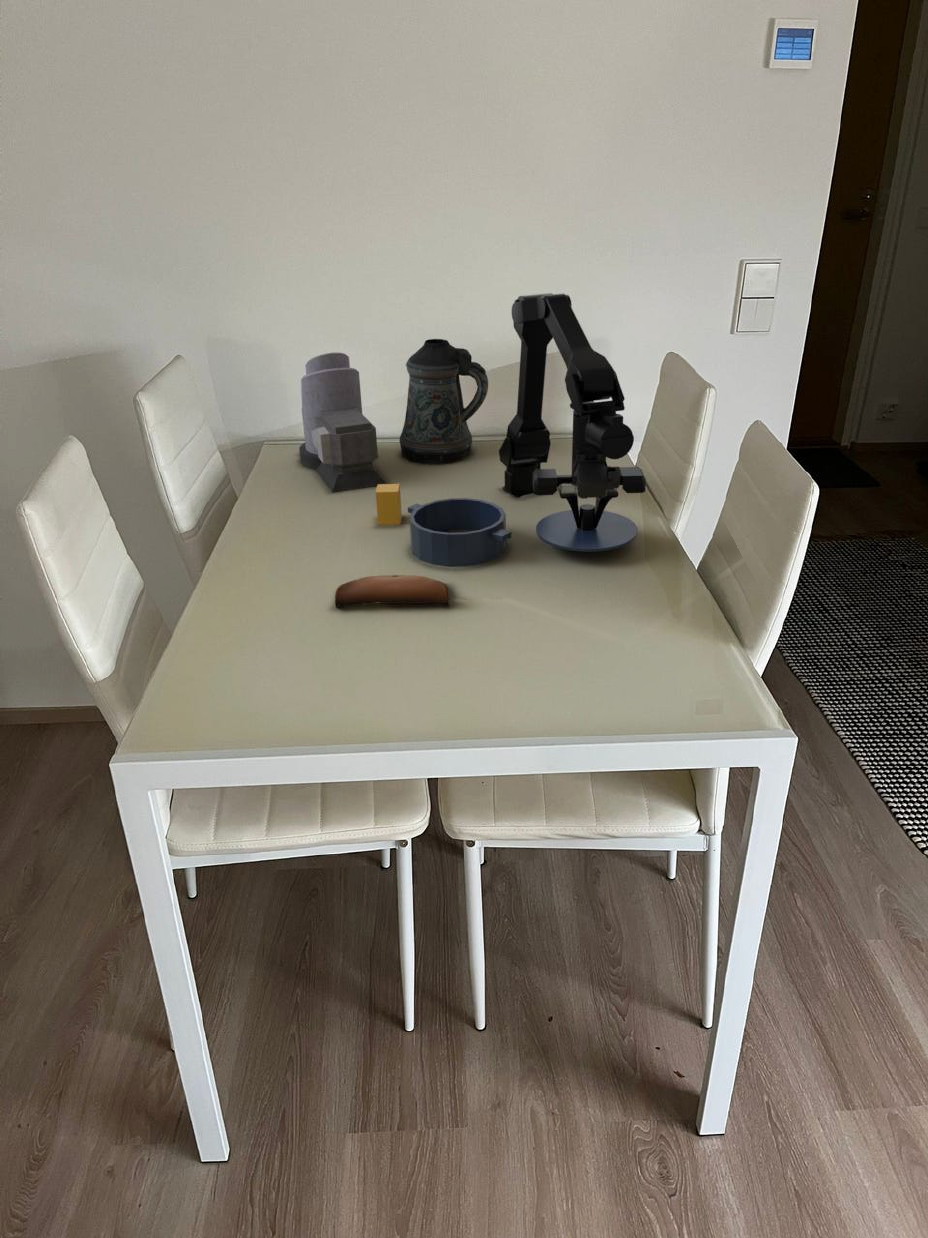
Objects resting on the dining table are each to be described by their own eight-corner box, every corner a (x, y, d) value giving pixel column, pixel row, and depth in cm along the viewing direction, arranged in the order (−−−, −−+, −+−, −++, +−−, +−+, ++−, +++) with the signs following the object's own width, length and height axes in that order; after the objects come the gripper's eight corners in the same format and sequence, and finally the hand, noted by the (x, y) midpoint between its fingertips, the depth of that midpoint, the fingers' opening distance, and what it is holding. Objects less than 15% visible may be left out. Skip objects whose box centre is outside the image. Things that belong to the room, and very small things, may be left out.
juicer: (293, 451, 222) (280, 343, 210) (360, 441, 227) (351, 336, 215) (321, 493, 197) (309, 374, 185) (396, 482, 202) (388, 365, 190)
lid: (574, 507, 179) (574, 481, 176) (656, 530, 169) (658, 502, 166) (515, 537, 167) (515, 510, 165) (600, 564, 157) (601, 535, 155)
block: (402, 518, 184) (399, 483, 181) (400, 526, 181) (398, 491, 177) (380, 518, 184) (377, 484, 181) (378, 527, 181) (375, 492, 177)
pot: (443, 520, 183) (442, 488, 180) (536, 549, 170) (536, 515, 167) (381, 549, 172) (379, 515, 169) (475, 582, 159) (474, 546, 156)
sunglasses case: (450, 581, 158) (448, 558, 152) (450, 618, 155) (448, 596, 149) (341, 584, 158) (335, 561, 153) (338, 621, 155) (332, 599, 149)
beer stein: (394, 445, 224) (387, 335, 212) (475, 437, 227) (472, 329, 215) (407, 468, 209) (400, 352, 197) (493, 459, 213) (492, 344, 201)
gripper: (536, 457, 153) (535, 547, 161) (653, 455, 153) (647, 545, 160) (532, 436, 163) (532, 521, 170) (643, 433, 162) (637, 519, 170)
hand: (586, 527), depth 167 cm, fingers closed on lid, 3 cm apart
